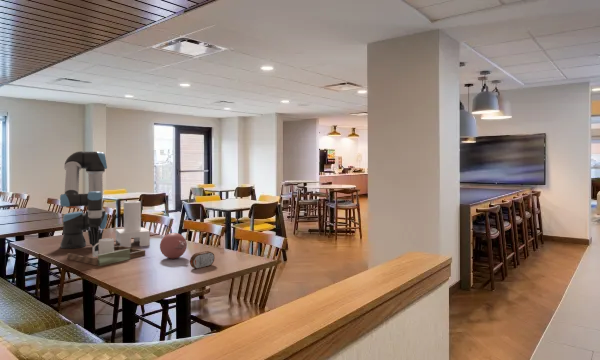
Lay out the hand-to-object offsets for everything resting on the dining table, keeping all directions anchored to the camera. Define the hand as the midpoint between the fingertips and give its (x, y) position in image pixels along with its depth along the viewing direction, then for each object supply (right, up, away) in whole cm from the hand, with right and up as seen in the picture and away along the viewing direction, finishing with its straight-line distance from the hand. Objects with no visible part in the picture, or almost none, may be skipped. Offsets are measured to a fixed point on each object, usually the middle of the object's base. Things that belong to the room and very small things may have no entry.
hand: (95, 256), depth 237 cm
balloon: (+48, -2, 0) cm, 48 cm away
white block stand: (+5, 0, +41) cm, 41 cm away
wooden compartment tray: (+6, -1, +3) cm, 7 cm away
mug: (+7, -2, -5) cm, 9 cm away
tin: (+69, -3, -18) cm, 71 cm away
